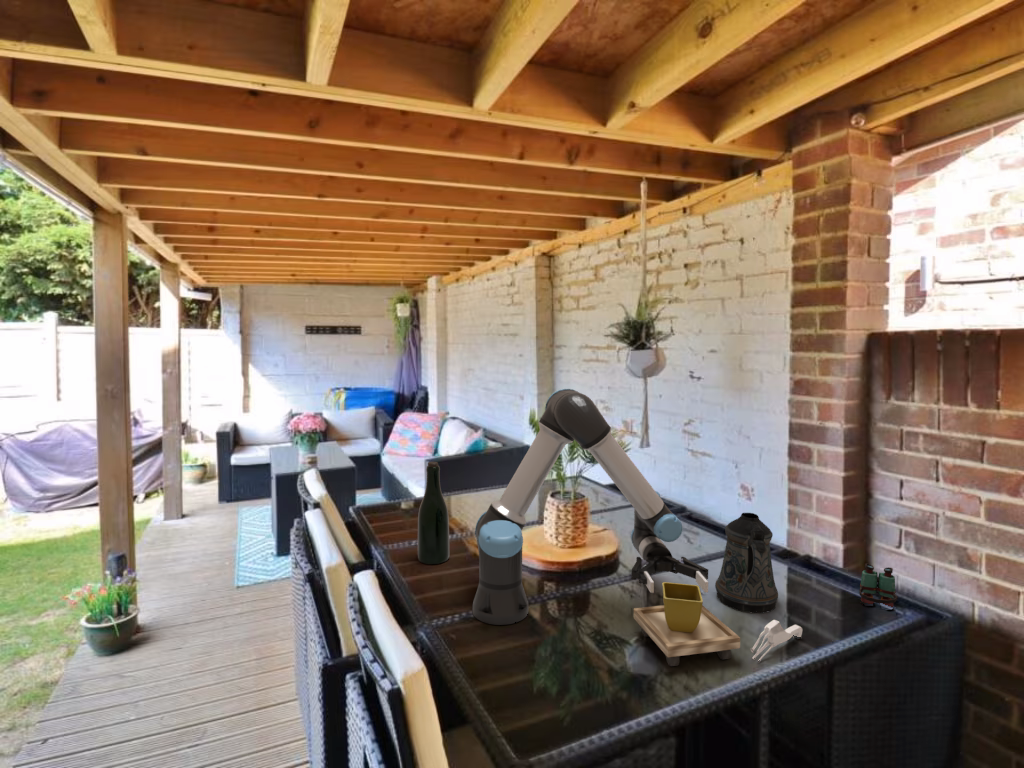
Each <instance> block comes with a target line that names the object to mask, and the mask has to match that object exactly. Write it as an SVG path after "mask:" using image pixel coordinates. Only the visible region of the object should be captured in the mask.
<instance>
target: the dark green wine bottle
mask: <svg viewBox="0 0 1024 768" xmlns="http://www.w3.org/2000/svg"><path fill="white" fill-rule="evenodd" d="M425 470H426V483H425V484H426V486H425V490H424V493H423V497H422V500H421V503H420V504H419V505H420V506H419V509H418V517H417V559H418V561H419V562H421V563H423V564H426V565H439V564H442V563H445V562H446V561H448V559H449V558H450V524H449V523H450V522H449V521H450V520H449V519H450V518H449V511H448V510H449V509H448V507H447V502H446V501H445V498H444V496H443V492H442V489H441V482H440V481H441V480H440V476H441V475H440V470H441V468H440V465H439V462H438V461H429V462H428V463H427V466H426V469H425Z"/></svg>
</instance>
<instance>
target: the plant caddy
mask: <svg viewBox="0 0 1024 768" xmlns="http://www.w3.org/2000/svg"><path fill="white" fill-rule="evenodd" d="M633 619H634V620H635V622H636V623H637V624H638V625H639V626H640V629H641V634H642V635H643V636H644V637H649V638H650V639H651V640H652V641H653V642H654V643H655V644H656V646H657V647H658V648H659V649H660V650H661V651H662V652H663V654H664V655H665V659H666V660H665V661H666V662H667V665H668V666H669V667H675V666H679V665H680V657H681V656H690V655H697V654H699V655H700V654H708V653H713V652H716V654H717V656H718V658H719V659H720V660H729V659H731V658H732V650H736V649H740V648H741V637H740V636H739V635H738V634H737V633H736V632H734V630H732V629H731V628H730V627H728V625H727V624H725V623H723V621H721V620H720V618H718V617H717V616H716V615H714V614H713V613H712V612H711V611H710V610H708V608H706V607H705V606H704V605H703V604H702V611H701V616H700V621H699V624H698V626H697V628H696V629H695V630H694V631H693V632H692V633H688V632H679V631H672V630H670V629H669V627H668V625H667V622H666V619H665V611H664V604H663V605H653V606H644V607H634V608H633Z"/></svg>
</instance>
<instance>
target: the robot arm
mask: <svg viewBox="0 0 1024 768" xmlns="http://www.w3.org/2000/svg"><path fill="white" fill-rule="evenodd" d="M591 399H592V398H590V397H589V396H588V395H586V394H583V393H582V392H579V391H577V390H575V389H571V388H564V389H563V388H562V389H558V390H556V391H554V392H553V393H552V394H551V395H549V397H548V399H547V400H546V402H545V408H544V409H545V410H544V412H543V414H542V415H541V417H540V419H539V420H538V426H539V427H538V428H539V431H538V433H537V434H536V436H535V438H534V440H533V442H532V443H531V445H530V446H529V448H528V450H527V452H526V454H525V455H524V456H523V459H522V460H521V462H520V464H519V465H518V467H517V469H516V470H515V472H514V474H513V476H512V477H511V479H510V481H509V483H508V485H507V487H506V488H505V490H504V492H503V493H502V495H501V497H500V499H498V500H494V501H491V504H490V505H489V507H488V509H487V510H486V511H485V512H483V513H482V514H481V515H480V517H479V518H478V520H477V521H476V525H475V528H474V530H475V531H474V532H475V533H474V534H475V535H474V536H475V537H474V538H475V539H476V544H477V550H478V563H479V564H478V566H479V567H478V570H479V571H478V575H479V576H478V578H479V581H478V586H477V589H476V593H475V595H474V598H473V602H472V614H473V616H474V618H475V619H477V620H478V621H480V622H482V623H484V624H489V625H494V626H495V625H496V626H500V625H501V626H503V625H504V626H505V625H513V624H515V622H516V623H518V622H521V621H523V620H524V619H525V618H526V617H527V616H528V615H527V614H529V601H528V598H527V595H526V591H525V589H524V584H523V545H524V544H523V543H524V537H523V529H524V527H525V525H526V524H527V521H526V517H525V515H526V514H527V512H528V509H529V508H530V506H531V505H532V503H533V501H534V499H535V498H536V496H537V495H538V492H540V489H541V488H542V486H543V484H544V482H545V481H546V479H547V477H548V475H549V474H550V472H551V470H552V469H553V467H554V465H555V463H556V462H557V460H558V458H559V456H560V455H561V453H562V452H563V451H564V450H563V449H564V447H565V446H566V445H568V444H572V443H573V442H577V444H578V445H579V446H580V448H582V450H584V451H588V452H589V453H590V454H591V456H593V458H594V459H595V460H596V462H597V463H598V464H599V466H600V467H601V468H602V469H603V471H604V472H605V473H606V474H607V476H608V477H609V478H610V480H611V481H612V482H613V483H614V484H615V486H616V487H617V488H618V489H619V491H620V492H621V493H622V494H623V496H624V497H625V499H626V500H627V502H628V503H630V505H632V508H633V509H634V511H633V513H634V514H633V517H634V519H633V521H634V523H633V524H634V525H633V529H632V530H631V533H630V540H631V544H632V546H633V547H634V549H635V550H636V551H637V552H638V554H639V555H640V556H636V561H635V563H634V565H633V566H632V568H631V570H630V571H631V574H630V575H631V580H635V581H636V580H637V579H638V584H641V585H645V586H646V587H647V589H648V591H649V593H651V594H654V593H655V592H654V590H655V589H654V588H655V582H654V580H653V579H652V577H651V575H652V574H653V575H655V574H656V573H662V572H670V573H673V574H676V575H677V574H681V575H683V576H686V577H689V578H691V579H693V580H694V579H695V582H696V584H698V586H699V588H700V589H701V590H703V592H704V593H708V592H709V581H708V579H709V569H708V568H706V567H704V566H702V565H700V564H697V563H696V562H694V561H692V560H689V559H687V558H686V556H680V559H677V558H675V557H673V555H672V553H671V551H670V549H669V548H668V547H667V546H666V544H664V542H665V543H672V542H675V541H676V540H678V539H680V537H681V535H682V533H683V524H682V522H681V520H680V519H679V517H678V516H677V515H676V514H674V513H673V512H672V511H671V510H670V509H669V507H668V506H667V505H666V504H665V502H664V500H663V499H662V498H661V494H660V493H659V492H658V491H656V490H655V489H654V488H653V487H652V485H651V484H650V482H649V481H648V480H647V478H645V476H644V474H643V473H642V472H641V471H640V470H639V468H638V467H637V466H636V464H635V463H634V462H633V461H632V459H631V458H630V456H628V454H627V453H626V451H625V449H623V448H622V446H621V445H620V444H619V442H618V441H617V440H616V438H615V437H614V436H613V435H612V433H611V432H612V427H611V426H610V424H609V423H608V421H606V419H605V417H604V416H603V414H602V413H601V412H600V410H599V408H598V407H597V406H596V404H595V402H594V401H593V399H592V400H591Z"/></svg>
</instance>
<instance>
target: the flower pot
mask: <svg viewBox="0 0 1024 768" xmlns="http://www.w3.org/2000/svg"><path fill="white" fill-rule="evenodd" d="M661 586H662V600H663V605H664V611H665V619H666V622H667V625H668V627H669V629H670V630H672V631H679V632H688V633H692V632H693V631H694V630H695V629H696V628H697V626H698V624H699V621H700V616H701V611H702V605H703V602H704V600H703V597H702V593H701V587H700V586H699V585H697V584H687V583H676V582H668V581H667V582H666V581H665V582H662V583H661Z"/></svg>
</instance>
